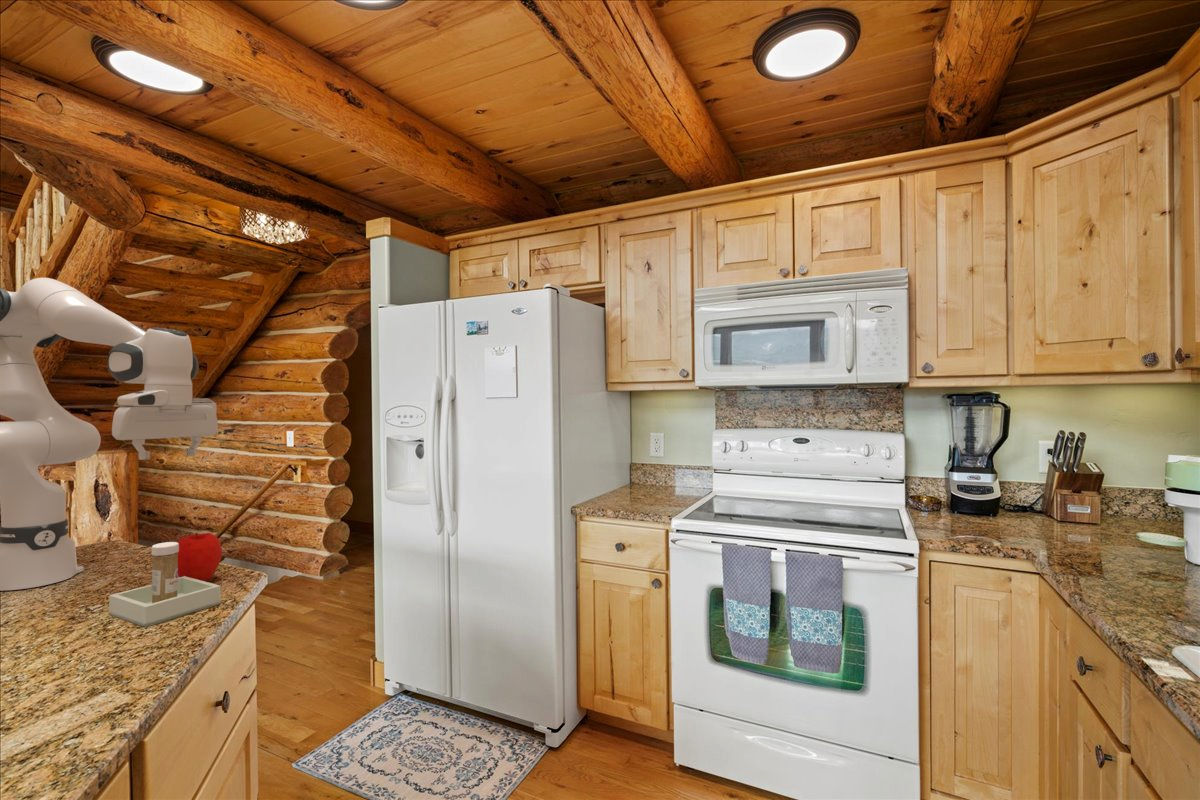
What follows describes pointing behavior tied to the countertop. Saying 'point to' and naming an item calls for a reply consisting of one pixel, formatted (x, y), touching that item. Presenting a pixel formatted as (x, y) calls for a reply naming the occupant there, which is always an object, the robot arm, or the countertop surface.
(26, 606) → the countertop surface
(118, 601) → the bin
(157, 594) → the sprinkles bottle
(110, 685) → the countertop surface
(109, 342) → the robot arm
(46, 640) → the countertop surface
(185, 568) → the apple
